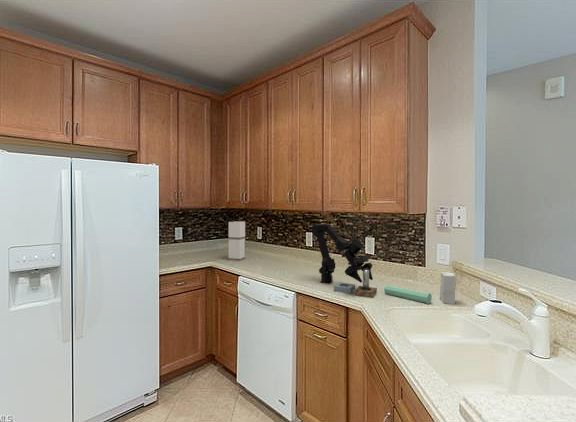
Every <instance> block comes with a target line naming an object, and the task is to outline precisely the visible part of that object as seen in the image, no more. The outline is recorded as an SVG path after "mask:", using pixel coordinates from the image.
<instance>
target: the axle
mask: <svg viewBox="0 0 576 422" xmlns="http://www.w3.org/2000/svg"><path fill="white" fill-rule="evenodd" d="M362 286H363V290H367V291H369V287H370V279H369V270H368V269H363V271H362Z"/></svg>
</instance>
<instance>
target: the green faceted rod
mask: <svg viewBox="0 0 576 422" xmlns="http://www.w3.org/2000/svg"><path fill="white" fill-rule="evenodd" d="M383 289H384V291H383V292H384V293H385V294H386V295H389V296H394V297H399V298H401V299H402V298H403V299H407V300H411V301H414V302H415V301H416V302H419V303H424V304H426V305H430V304H431V302H432V300H433V299H432V298H433V296H432V294H431V292H428V293H427V292H423V291H422V292H421V291H416V290H412V289H406V288H401V287H397V286H392V285H386V286H385V287H384V288H383ZM429 303H430V304H429Z"/></svg>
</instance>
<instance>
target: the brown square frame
mask: <svg viewBox="0 0 576 422" xmlns="http://www.w3.org/2000/svg"><path fill="white" fill-rule="evenodd" d="M377 292H378V289H377V287H372V286H371V287H370V286H369V291H367V290H363V285H359V286H358V287H356V288H355V290H354V295H355V297H356V296H358V297H364V298H369V297H370V298H372V299H373V298H375V296H376V295H377Z"/></svg>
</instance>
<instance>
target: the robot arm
mask: <svg viewBox="0 0 576 422" xmlns="http://www.w3.org/2000/svg"><path fill="white" fill-rule="evenodd" d="M311 232H312V234H313V236H314V237H315V238H316V240H317V243H318V247H319V250H320V254H321V258H322V259H321V267H320V268H319V269H318V272H319V274H321V276H320V278H321V279H320V280H321V281H320V283H321V284H327V285H329V284H331V283H333V280H334V279H333V278H334V277H333V273H335V269H336V262H335V259H334V258H332V257H331V256H330V251H329V249H328V245H327V242H326V238H325V233H326V234H327V235H328V236H329V237H330V238H331V240H332V241H333V242H334V243H335V248H337V250H338V251H339V252H342V254H341V257H342V258H345V259H346V260H347V262H348V263H347V265H348V266H347V268H346V269H345V270H344V273H345V276H348V277H351V278H352V279H354V280H356V281H358V282H359V283H362V284H363V279H362V278H361V276H360V274H359V272H358V271H362V272H363V269H368V270H369V281H373V280H374V279H373V275H372V268H373V263H372V262H369V260H370V257H369V255H367V254H364V255H362V256H357V254H359V253H360V251H362V249H363V248H364V244H363V243H362V242H361V241H358V240H357V239H353V240H352V242H351V243H350V242H349V240H346V239H345V238H343V237H342V236H340V234H339V233H338V232H337V231H336V230H335V229H334V228H333V227H332V225H331V224H330V223H326V224H322V223H321V224H313V225H312V227H311Z"/></svg>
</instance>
